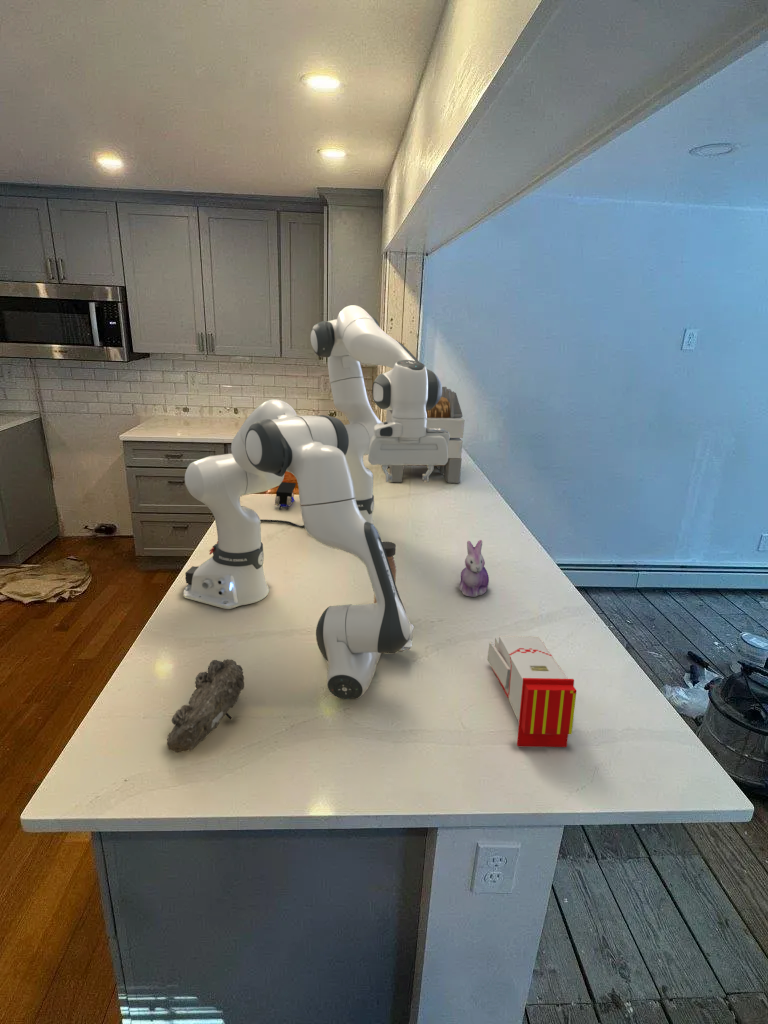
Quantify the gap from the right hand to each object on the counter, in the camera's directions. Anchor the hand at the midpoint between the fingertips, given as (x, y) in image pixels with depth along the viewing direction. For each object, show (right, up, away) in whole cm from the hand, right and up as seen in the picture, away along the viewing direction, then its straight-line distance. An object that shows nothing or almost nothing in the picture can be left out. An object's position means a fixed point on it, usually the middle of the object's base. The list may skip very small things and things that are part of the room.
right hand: (407, 481), depth 146 cm
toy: (+23, -47, -29) cm, 59 cm away
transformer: (+11, +11, +129) cm, 130 cm away
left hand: (-8, -33, -9) cm, 35 cm away
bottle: (-6, -34, +2) cm, 35 cm away
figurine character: (-45, -5, +77) cm, 89 cm away
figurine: (+20, -30, +16) cm, 39 cm away
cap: (-5, -16, -4) cm, 18 cm away
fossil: (-39, -47, -38) cm, 72 cm away
